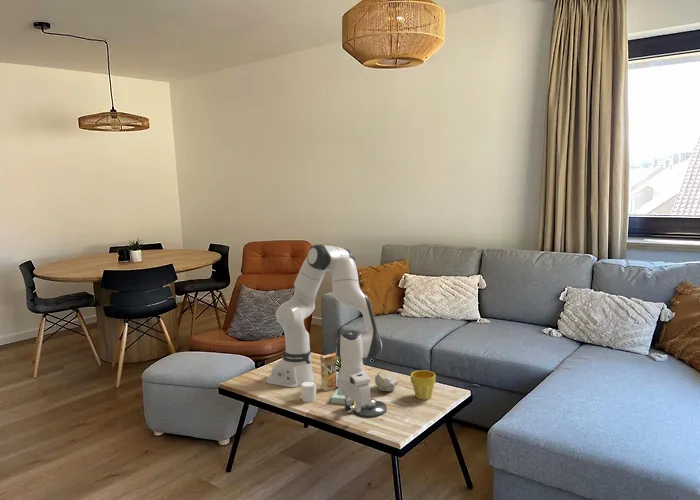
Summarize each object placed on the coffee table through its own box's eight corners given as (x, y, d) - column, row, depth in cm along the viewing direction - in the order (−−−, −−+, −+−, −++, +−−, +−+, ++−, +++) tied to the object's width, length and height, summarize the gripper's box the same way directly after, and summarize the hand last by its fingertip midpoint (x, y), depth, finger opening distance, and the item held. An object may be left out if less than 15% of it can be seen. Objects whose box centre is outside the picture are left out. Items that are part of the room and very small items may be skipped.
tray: (331, 402, 219) (331, 397, 218) (337, 394, 227) (337, 388, 227) (352, 404, 216) (352, 399, 216) (358, 395, 225) (357, 390, 225)
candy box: (325, 391, 231) (324, 358, 229) (321, 388, 234) (319, 355, 232) (343, 387, 235) (341, 354, 233) (338, 384, 239) (337, 351, 237)
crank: (374, 403, 213) (373, 394, 213) (377, 408, 209) (376, 398, 208) (344, 407, 210) (343, 398, 210) (346, 412, 206) (346, 402, 206)
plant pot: (414, 390, 228) (414, 368, 227) (438, 393, 225) (437, 371, 223) (408, 399, 219) (407, 377, 218) (432, 402, 215) (432, 380, 214)
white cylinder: (317, 395, 226) (316, 380, 226) (316, 402, 220) (316, 386, 219) (301, 396, 226) (300, 381, 225) (300, 403, 219) (299, 387, 219)
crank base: (350, 415, 206) (350, 412, 206) (358, 401, 219) (358, 398, 218) (382, 418, 203) (382, 415, 203) (389, 404, 215) (389, 401, 215)
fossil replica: (394, 383, 238) (373, 387, 236) (392, 365, 237) (371, 369, 236) (401, 391, 226) (379, 396, 224) (399, 372, 225) (376, 377, 224)
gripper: (332, 367, 209) (334, 400, 211) (357, 383, 191) (359, 419, 193) (346, 364, 212) (347, 397, 214) (372, 379, 194) (373, 415, 196)
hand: (353, 407), depth 203 cm, fingers open, 6 cm apart
